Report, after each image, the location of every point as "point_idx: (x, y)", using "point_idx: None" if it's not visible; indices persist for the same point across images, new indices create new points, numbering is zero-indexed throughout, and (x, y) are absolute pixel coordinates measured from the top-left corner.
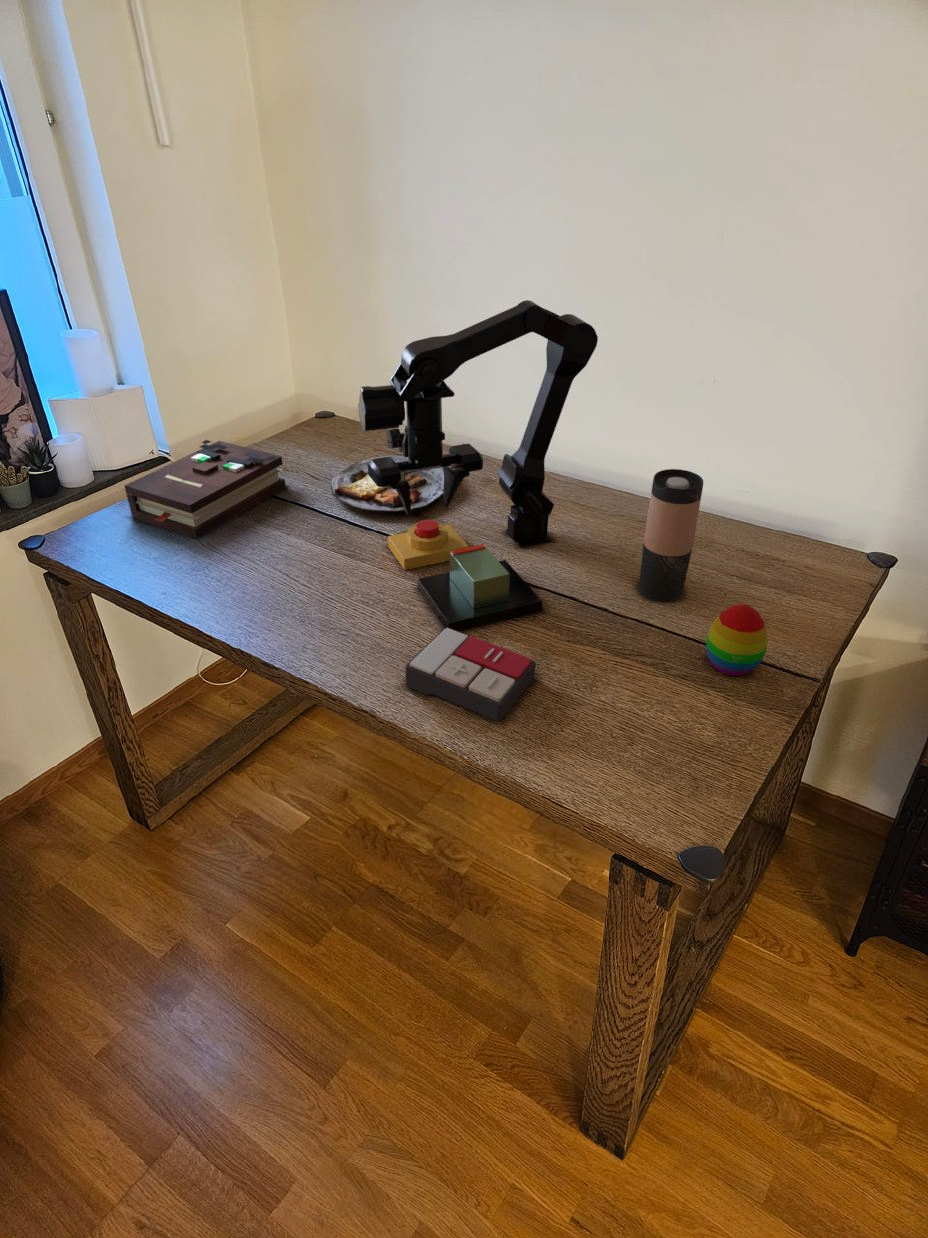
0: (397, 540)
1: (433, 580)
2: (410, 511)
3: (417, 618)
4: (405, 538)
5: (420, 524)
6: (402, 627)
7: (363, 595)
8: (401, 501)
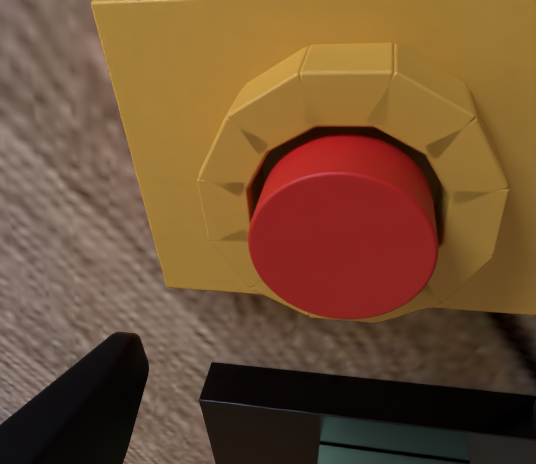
0: (153, 97)
1: (255, 429)
2: (136, 414)
3: (181, 450)
4: (211, 91)
5: (289, 226)
6: (137, 457)
7: (22, 319)
8: (8, 425)
